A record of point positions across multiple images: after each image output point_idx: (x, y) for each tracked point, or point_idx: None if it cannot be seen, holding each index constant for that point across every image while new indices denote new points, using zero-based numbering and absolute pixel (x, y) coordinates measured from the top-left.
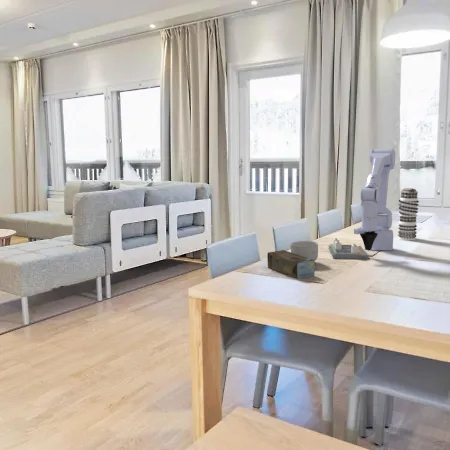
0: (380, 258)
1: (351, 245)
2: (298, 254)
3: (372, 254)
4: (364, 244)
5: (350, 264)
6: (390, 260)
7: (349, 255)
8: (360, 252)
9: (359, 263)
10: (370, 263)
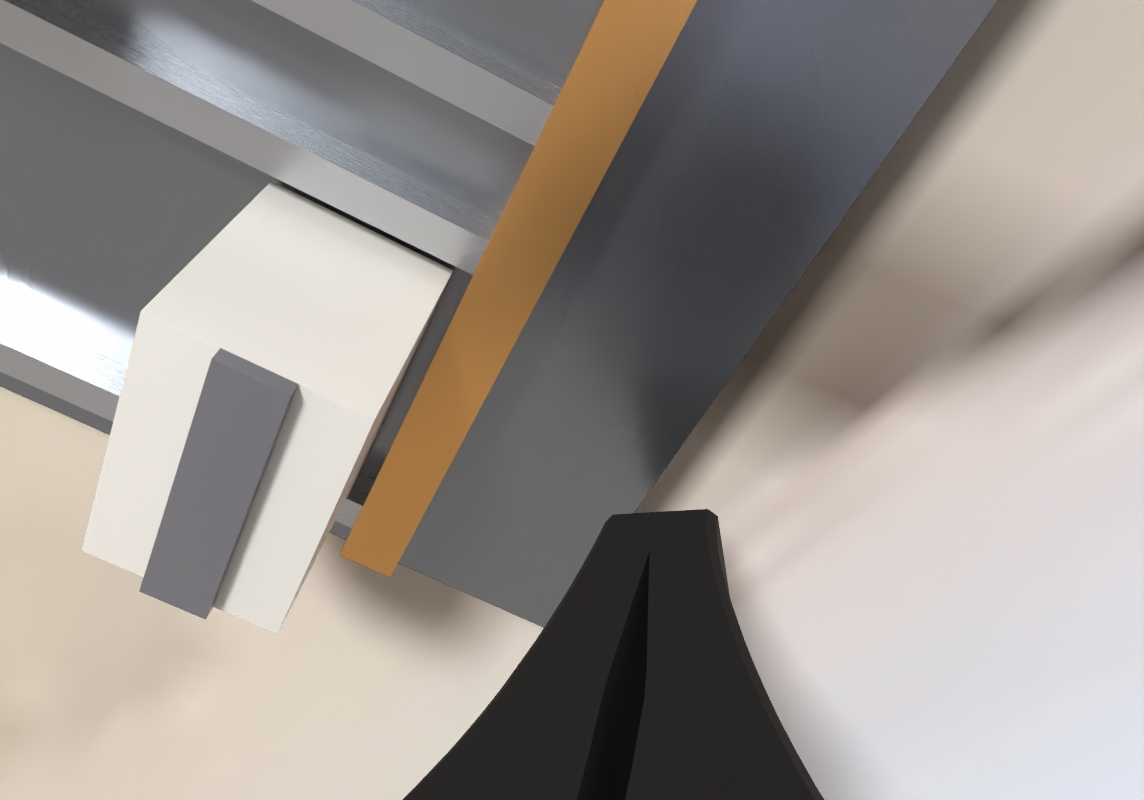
0: (869, 626)
1: (143, 347)
2: None
3: (1106, 216)
4: (554, 639)
5: (18, 693)
6: (907, 795)
7: (105, 425)
8: (402, 521)
9: (199, 710)
10: (389, 778)
